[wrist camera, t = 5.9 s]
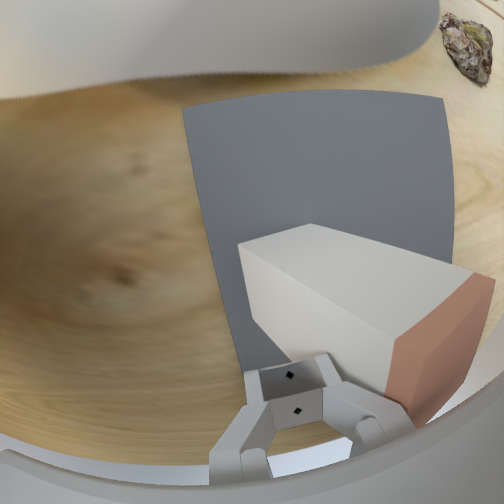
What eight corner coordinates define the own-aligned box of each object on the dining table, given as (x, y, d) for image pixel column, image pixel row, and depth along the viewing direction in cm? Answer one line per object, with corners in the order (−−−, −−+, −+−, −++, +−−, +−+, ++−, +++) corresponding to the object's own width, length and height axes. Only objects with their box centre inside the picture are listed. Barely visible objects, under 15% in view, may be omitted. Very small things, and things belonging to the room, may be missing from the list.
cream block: (237, 244, 15) (424, 358, 5) (310, 223, 17) (495, 279, 6) (252, 318, 17) (387, 456, 6) (317, 292, 19) (463, 381, 8)
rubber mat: (183, 110, 15) (181, 108, 14) (438, 99, 15) (442, 98, 15) (247, 388, 22) (248, 393, 21) (437, 328, 22) (440, 331, 22)
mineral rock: (486, 98, 14) (458, 17, 9) (451, 92, 17) (420, 19, 13) (509, 69, 13) (487, 6, 8) (481, 64, 16) (458, 6, 12)
